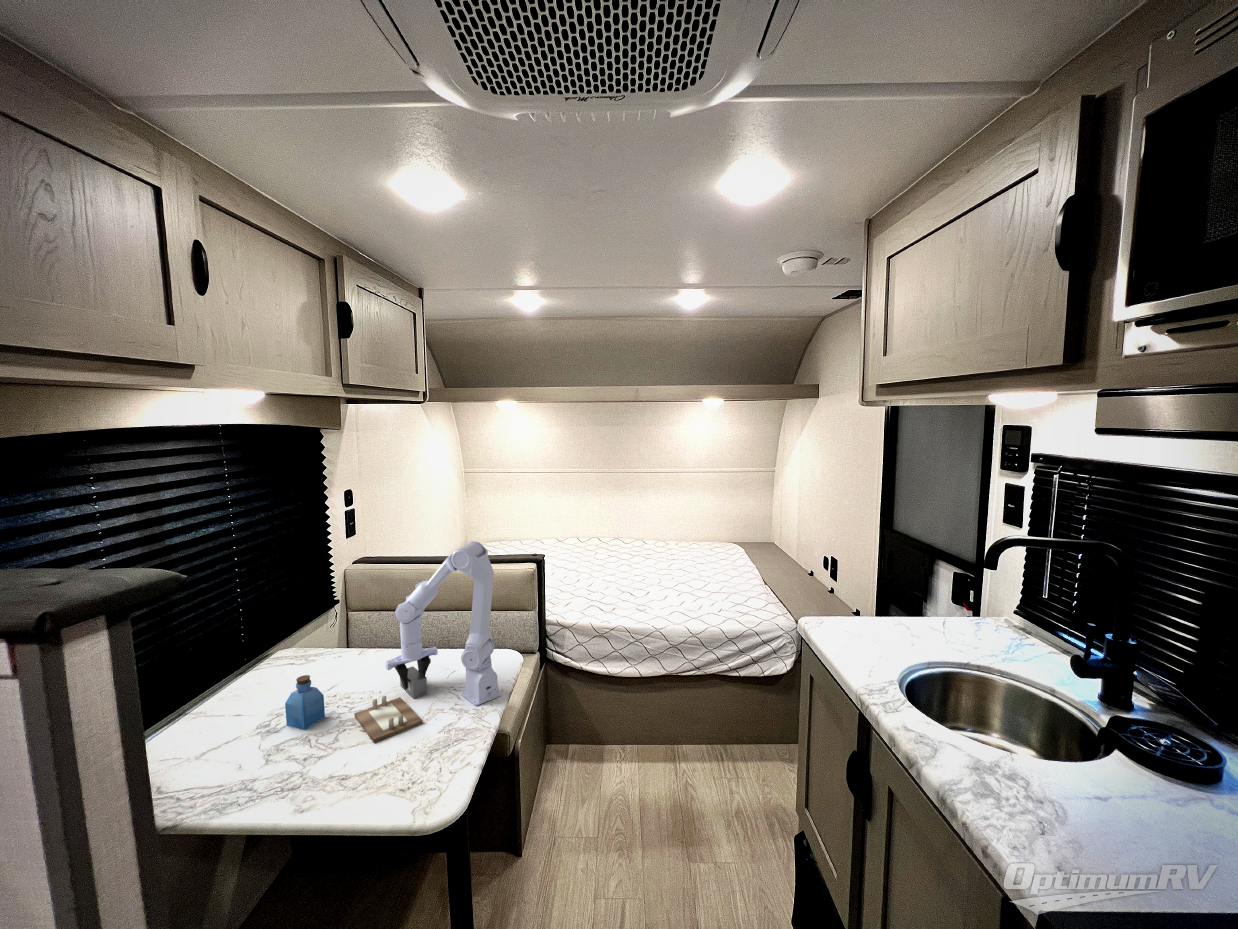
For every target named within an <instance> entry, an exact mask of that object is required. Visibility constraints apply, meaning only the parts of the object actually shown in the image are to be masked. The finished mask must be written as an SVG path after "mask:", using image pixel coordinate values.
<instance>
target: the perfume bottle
mask: <svg viewBox="0 0 1238 929" xmlns="http://www.w3.org/2000/svg"><path fill="white" fill-rule="evenodd" d="M310 678H311V675H309V674H306V675H301V676H299V677H296V683H295V688H296V690H294V691H292V692H291V693H290V695H289V696H288V698H287V699H286V701H285V703H284V705H285V706H284V707H285V708H284V709H285V720H286V721H285V722H286V727H289V728H290V727H291V728H292V729H293V728H294V729H299V730H302V731H306V730H307V729H308V728H310V727H311V726H313V725H315V724H316V723H319V721H321V720H322V719H325V718H326V713H325V712H326V709H325V696H324V693H323V692H321V691H320V690H319V689H318V687H316V686H312V680H311V679H310Z"/></svg>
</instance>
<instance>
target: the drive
mask: <svg viewBox="0 0 1238 929" xmlns="http://www.w3.org/2000/svg"><path fill="white" fill-rule="evenodd" d="M407 668H408V676H407V680H408V689H404V688H403V685H402V681H401V678H400V677H399V681H400V682H399V684H400V686H401V687H402V688H403V689H404V690H405V691H406V694H408V695H409V696H410V697H411V698H412V699H413V700H415V698H416V699H418V698H420V697H423V696H425V695H428V679H427V676H426V675H425V676H424V675H423V674H422V673H421V672H419V671H418V668H416V667H415V666H410V667H407ZM401 687H400V688H401ZM402 688H401V689H402ZM403 689H402V690H403ZM405 691H404V692H405Z"/></svg>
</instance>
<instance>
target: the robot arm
mask: <svg viewBox="0 0 1238 929" xmlns="http://www.w3.org/2000/svg"><path fill="white" fill-rule="evenodd" d="M488 553H489V552H488V549H487V548H486V547H485V546H484V545H483V544H481V542H478V541H475V540H474V541H470V542H468V543H467V544H465V545H464V546H462V547H459V548H456V549H455V550H454V551H453V552H452V553H451V554H450V555H448V557H446V558H445V560H444V561H443V562H442V563H441V565H440V566H439V567H438V568H437V570H436V571H435V572H433V575H432V576H431V577H430V578H429V579H428V580H423V581H421V582H418V583H416V584H415V587H414V588H415V589H414V590H413V592H411V594H408V595H407V596H406V597H405V601H404V602H402V603H399V604H398V605H397V607H396V609H395V611H394V615H395V618H396V620H397V621H398V622H399V629H400V630H399V631H400V632H399V633H400V649H401V650H400V651H401V653H400V655H398V656H396V657H393V658H391V659H390V660H386V661H385V662H384V663H385V664H384V665H385V669H386V670H387V671H391V670H392V669H395V670H396V672H397V674H398V676H399V679H400V678H401V681H402V685H403V688H404V689H408V680H407V676H408V668H409V667H407V665H406V664H408V663H409V664H410V663H412V662H417V663H416V664H417V670H418V671H419V672H421V673H422V674H423V675H424V676H425V677H426V674H427V670H429V669H428V668H429V666H430V664H431V663H432V661H431V660H432V659H431V656H437V655H438V648H437V647H436V646H432V647H428V648H423V639H422V637H423V636H422V615H423V614H424V612H425V609H426V608H427V606H428V605H429V604H430V603H431V602H432V601H433V600H434V599H435V598H436V596H437V595H438V593H439V590H438V588H439V587H440V586H441V585H442V584H443V582H445V580H446V579H448V577H450V575H451V574H452V573H454V572H457V571H460V572H462V573H463V574H465V575H466V576H469V577H470V578H471V579H472V580H473V581H474V582H473V590H472V591H473V594H472V605H471V617H470V626H469V627H470V628H469V629H470V630H469V635H468V637H467V640H466V642H465V648H464V650H463V652H462V654H461V656H460V659H461V663H462V665H463V666H464V667H465V684H466V685H465V686H466V689H465V690H463V691H461V695H462V696H463V697H464V698H466V699H467V700H468V701H470V702H471V703H472V704H473V705H474V706H479V705H482V704H484V703H486V702H489V701H491V700H494V699H496V698H499V697H501V696H502V694H501V693H500V692H499V682H498V674H497V672H495V670H494V669H493V667H492V665H493V664H492V657H491V656H492V654H493V652H494V650H495V644H494V641H493V633H492V632H491V631H490V624H491V613H492V601H493V590H494V579H495V578H494V576H495V572H494V568H493V566H492V563H491V561H490V558H489V554H488Z"/></svg>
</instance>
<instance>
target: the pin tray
mask: <svg viewBox="0 0 1238 929" xmlns="http://www.w3.org/2000/svg"><path fill="white" fill-rule="evenodd" d="M371 702H372V704H371V705H372V706H371V707H369V708H366V709H363V710H360V711H356V712H355V713H354V718H355V719H356V721H357V723H358V724H359V725H360V726H361V728H362V730H364V732H365V733H366V735H367V736H368V737H369V739H370V740H371V741H372V743H373V744H376V743H377V742H380V741H383V740H385V739H389V738H390V737H392V736H395V735H398V734H399V733H403V732H405V731H408V730H410V729H413V728H415V727H418V726H419V725H422V724H423V719H422V718H421V717H420V716H419V715H418V714H417V713H416V712H415V711H414V710H413V709H412V708H411V707H410V706H409V704H407V702H405V701H404V699H403V698H402V697H401V696H400V697H396V698H394V699H391V700H388V701H387V696H386V695H383V696H381V703H380V704H378V699H377V698H374V699H373V700H372V701H371Z"/></svg>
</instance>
